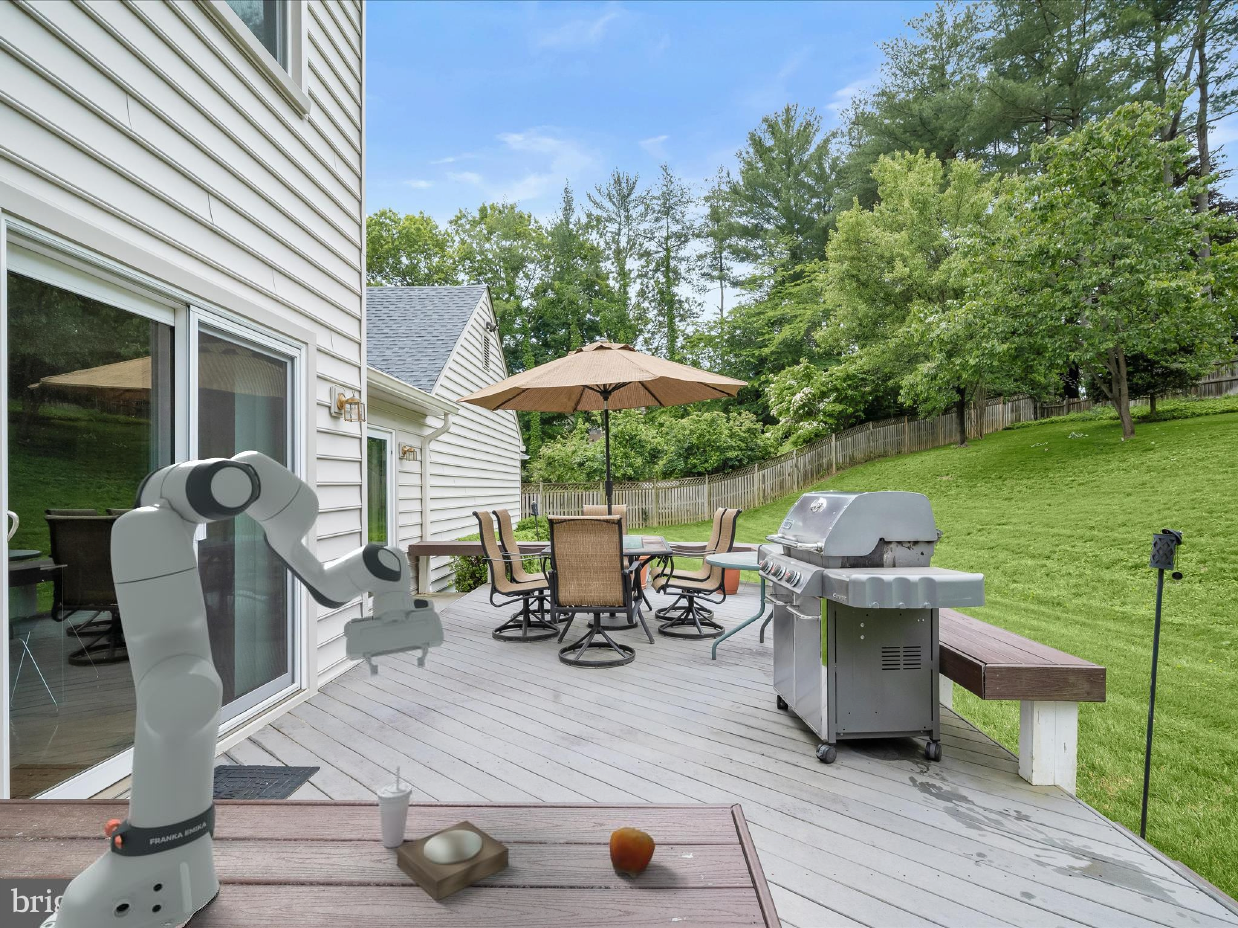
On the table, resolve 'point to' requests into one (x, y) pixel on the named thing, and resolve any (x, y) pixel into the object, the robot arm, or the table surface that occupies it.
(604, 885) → the table surface
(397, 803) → the smoothie
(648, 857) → the fruit
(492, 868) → the stand
